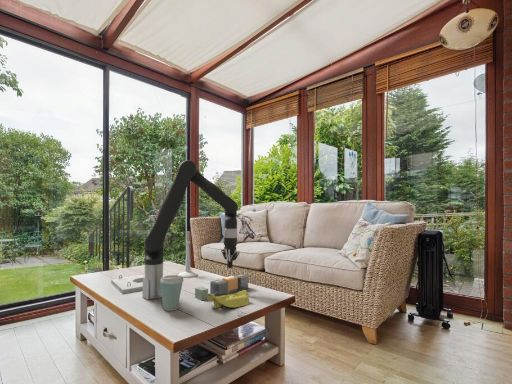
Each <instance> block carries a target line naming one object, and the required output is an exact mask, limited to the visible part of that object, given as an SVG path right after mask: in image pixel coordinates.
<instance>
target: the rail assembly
mask: <svg viewBox="0 0 512 384" xmlns="http://www.w3.org/2000/svg"><path fill="white" fill-rule="evenodd" d="M233 276H234V277H238V288H237V289H234V290H230V291H228V282H227V281H224V280H222V279H215V280H211V281H210V282H209V283H210V287H209V288H210V289H209V290H210V292H208V296H210V295H215V297H216V296H222V295H229V294H232V293H234V292H237V291H238V292H240V291H243V290H247V289H249V275H245V274H241V273H239V274H236V275H235V274H234V275H233Z"/></svg>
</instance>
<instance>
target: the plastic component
mask: <svg viewBox="0 0 512 384" xmlns="http://www.w3.org/2000/svg"><path fill="white" fill-rule="evenodd" d="M206 298H207V299H206V300H207V301H208V302H213V307H214V309H218V308H221V307H222V306H224V307H227V308H232V309H233V308H239V307H244V306H248V305H249V304H250V297H249V295H248V291H247V289H245V290H242V291H240V290H239V291H238V292H236V293H228V294H227V295H222V296H216V297H215V295H210V296H208V297H206Z"/></svg>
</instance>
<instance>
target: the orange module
mask: <svg viewBox="0 0 512 384" xmlns="http://www.w3.org/2000/svg"><path fill="white" fill-rule="evenodd" d="M221 280H224V281H227V282H228V291H230V290H234V289H237V288H238V277H234V275H229V276H225V277H222V279H221Z"/></svg>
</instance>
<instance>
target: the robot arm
mask: <svg viewBox="0 0 512 384" xmlns="http://www.w3.org/2000/svg"><path fill="white" fill-rule="evenodd" d="M190 182H192V184H195V186H197V187H199V189H201V191H203V192H204V193H205V194H206V195H207V196H208V197H209V198H211V199H212V201H214V202H215V203H217V204H218V205H220V207H221V208H223V209H224V231H223V249H221V253H222V256H223V258H224V260H226V266H227V269H232V268H233V264H234V263H233V261H236V259H237V258H238V257H239V255H240V251H238V250H237V245H238V218H237V214H238V213H237V211H238V209H239V205H238V203H237V202H236V201H235V200H234V199H233V198H231V196H229V195H227V194H226V192H224V190H222V189H221V188H220V187H219V186H217V185H216V184H215V183H213V182H212V181H210V179H209V180H208V179H207V178H206V177H205V176H204V175H203V174H201V172H200V171H199V170H198V168H197V164H196V163H195V162H194V161H192V160H190V159H187V160H183V161H182V162H180V164H179V166H178V170H177V173H176V176H175V178H174V181H173V183H172V185H171V186H170V188H169V189H168V191H167V193H166V195H165V197H164V199H163V201H162V203H161V205H160V208H159V211H158V213H157V217H156V220H155V223H154V225H153V226H152V228H151V230H150V232H149V233H148V234H147V236H146V237H145V239H144V274H143V275H144V278H143V282H142V283H143V290H142V298H144V299H146V300H149V301H150V300H154V299H160V298H162V292H161V283H160V280H161V278H162V277H163V274H164V242H165V239H166V236H167V234H168V231H169V229H170V228H171V227H170V226H171V224H172V223H173V222H174V220H175V218H176V216H177V215H178V212H179V211H180V208H181V205H182V204H183V200H184V197H185V195H186V190H187V187H188V186H189V183H190Z"/></svg>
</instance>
